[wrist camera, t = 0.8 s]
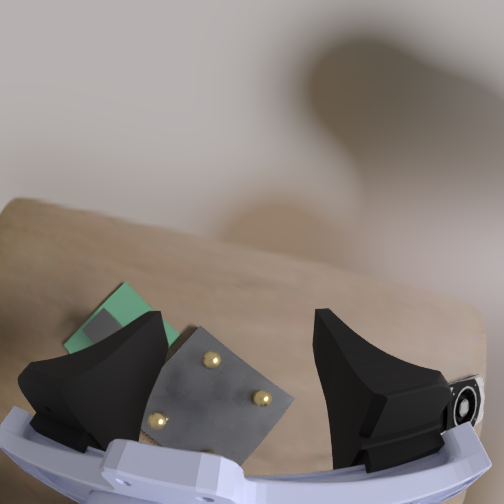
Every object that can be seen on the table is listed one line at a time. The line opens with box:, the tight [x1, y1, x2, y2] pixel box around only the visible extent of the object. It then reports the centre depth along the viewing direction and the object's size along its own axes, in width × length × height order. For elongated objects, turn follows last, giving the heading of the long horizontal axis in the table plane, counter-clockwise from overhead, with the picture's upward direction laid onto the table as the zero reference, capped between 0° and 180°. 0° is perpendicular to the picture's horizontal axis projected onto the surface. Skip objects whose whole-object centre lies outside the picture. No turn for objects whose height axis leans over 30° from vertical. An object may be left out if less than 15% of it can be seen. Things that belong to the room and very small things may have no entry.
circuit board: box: [64, 282, 180, 354], centre depth 23 cm, size 10×8×5 cm
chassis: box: [141, 326, 295, 466], centre depth 22 cm, size 12×12×2 cm
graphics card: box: [438, 374, 485, 435], centre depth 25 cm, size 10×3×25 cm
